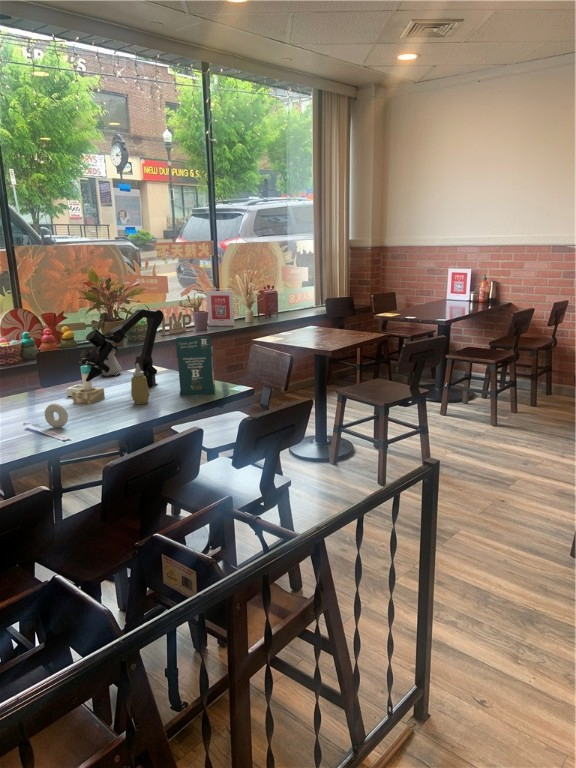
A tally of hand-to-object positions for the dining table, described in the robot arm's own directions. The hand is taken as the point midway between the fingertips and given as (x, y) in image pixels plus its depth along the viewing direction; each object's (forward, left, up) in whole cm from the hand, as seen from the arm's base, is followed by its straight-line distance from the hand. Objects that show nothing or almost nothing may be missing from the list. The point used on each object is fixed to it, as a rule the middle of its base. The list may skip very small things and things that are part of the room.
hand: (84, 380), depth 258 cm
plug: (-1, -1, -7) cm, 7 cm away
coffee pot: (+20, -46, -10) cm, 51 cm away
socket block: (-1, -1, -10) cm, 10 cm away
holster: (+10, -9, -10) cm, 17 cm away
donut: (-14, +37, -10) cm, 41 cm away
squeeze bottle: (-28, -2, -10) cm, 29 cm away
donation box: (-45, -26, -10) cm, 53 cm away
